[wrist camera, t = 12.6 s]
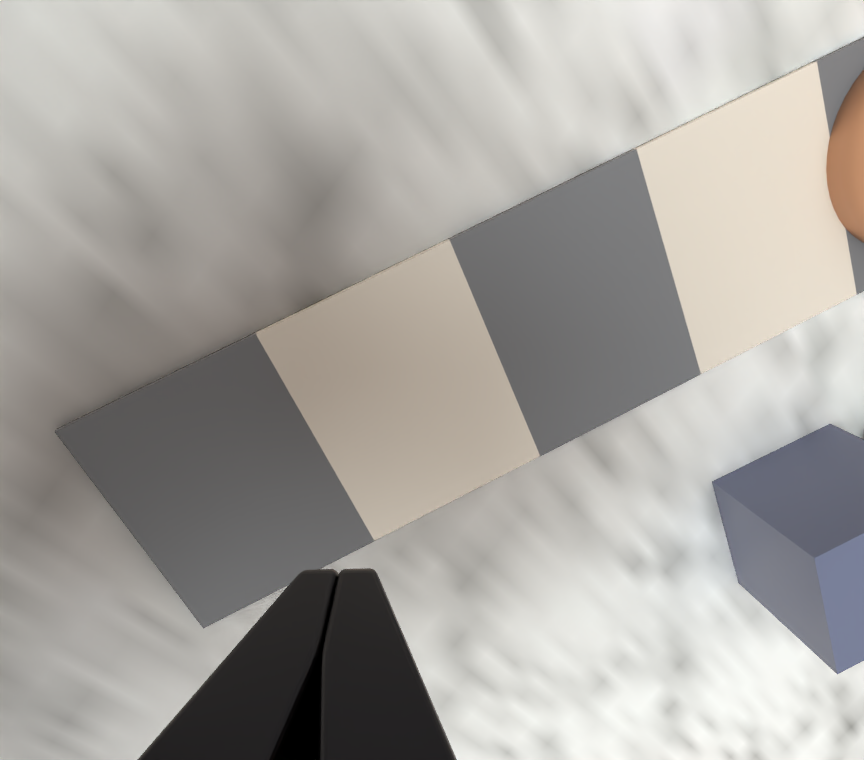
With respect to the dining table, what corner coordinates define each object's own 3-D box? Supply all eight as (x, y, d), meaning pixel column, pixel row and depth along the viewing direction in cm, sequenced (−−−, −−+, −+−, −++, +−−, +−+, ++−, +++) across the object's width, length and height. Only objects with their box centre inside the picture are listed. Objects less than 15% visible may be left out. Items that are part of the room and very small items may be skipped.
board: (204, 623, 19) (203, 628, 19) (57, 428, 16) (54, 431, 16) (1001, 216, 20) (1007, 217, 20) (983, -22, 18) (991, -24, 17)
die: (737, 582, 23) (839, 677, 19) (710, 480, 21) (815, 559, 17) (846, 527, 23) (971, 608, 19) (828, 423, 22) (961, 486, 17)
